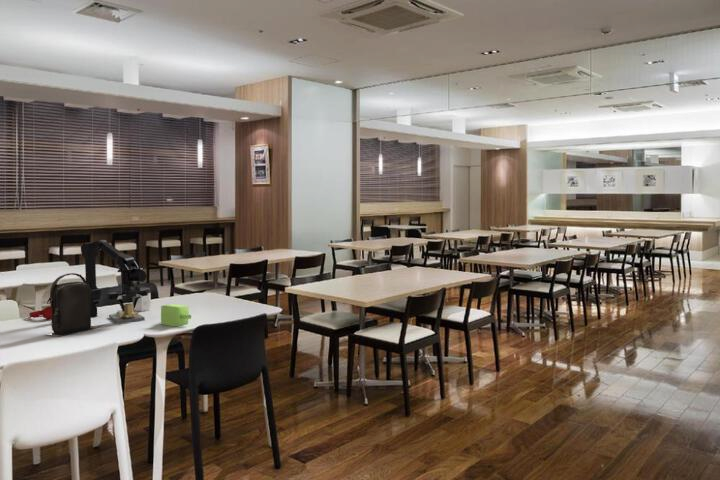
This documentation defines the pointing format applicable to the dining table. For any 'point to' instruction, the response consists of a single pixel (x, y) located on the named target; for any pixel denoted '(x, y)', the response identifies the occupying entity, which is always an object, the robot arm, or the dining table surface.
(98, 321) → the dining table surface
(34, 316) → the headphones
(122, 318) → the plate
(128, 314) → the brass gear
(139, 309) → the jar
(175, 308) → the gearbox
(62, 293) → the shoulder bag
